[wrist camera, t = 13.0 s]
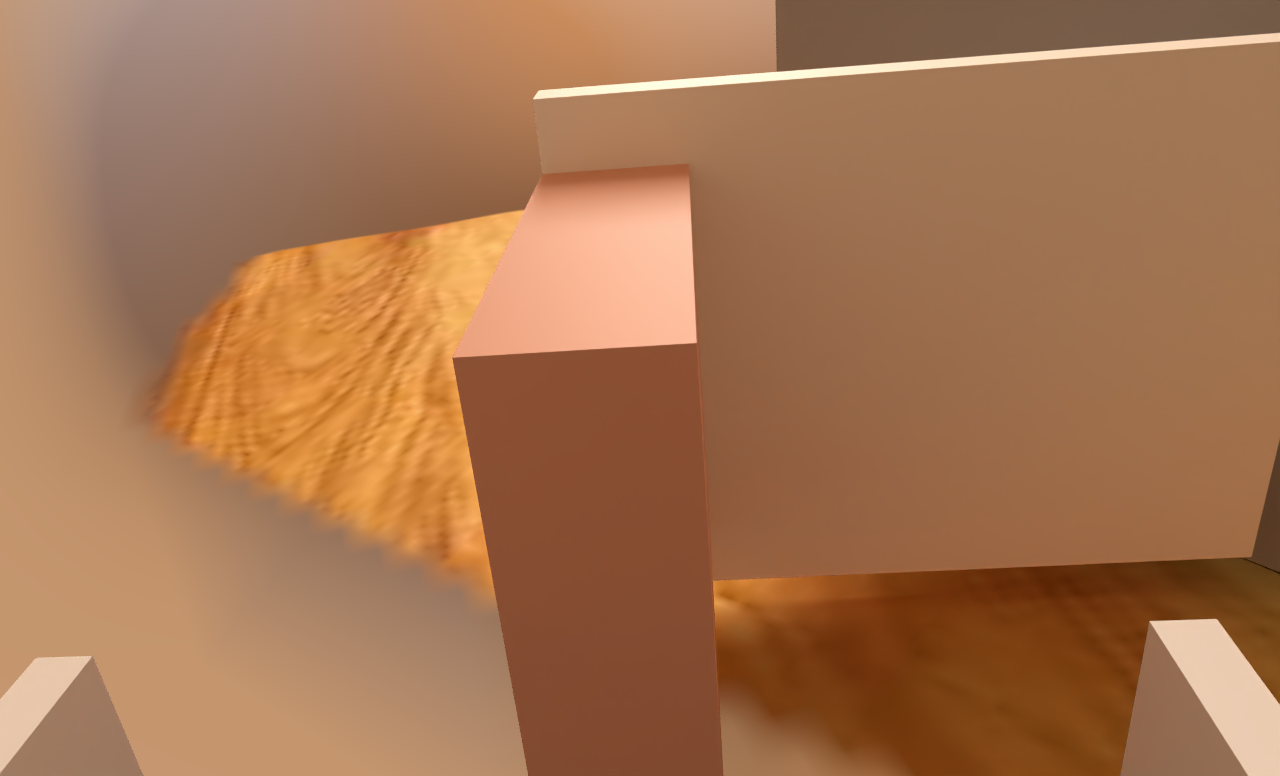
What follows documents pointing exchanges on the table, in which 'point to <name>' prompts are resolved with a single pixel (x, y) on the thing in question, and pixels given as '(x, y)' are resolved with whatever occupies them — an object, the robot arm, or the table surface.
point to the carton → (1006, 24)
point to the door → (863, 353)
